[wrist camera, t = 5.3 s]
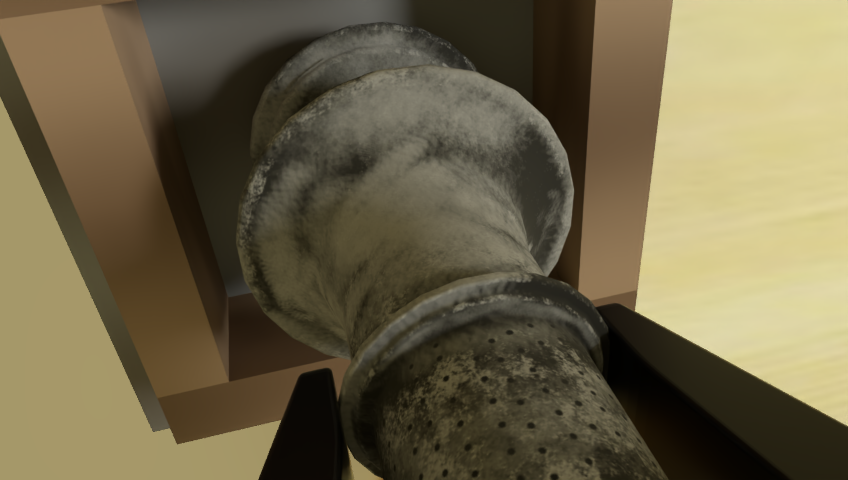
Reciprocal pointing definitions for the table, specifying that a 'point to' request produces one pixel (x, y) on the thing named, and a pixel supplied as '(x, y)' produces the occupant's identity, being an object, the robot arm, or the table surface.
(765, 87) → the table surface
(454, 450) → the salt shaker
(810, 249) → the table surface
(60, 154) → the socket
